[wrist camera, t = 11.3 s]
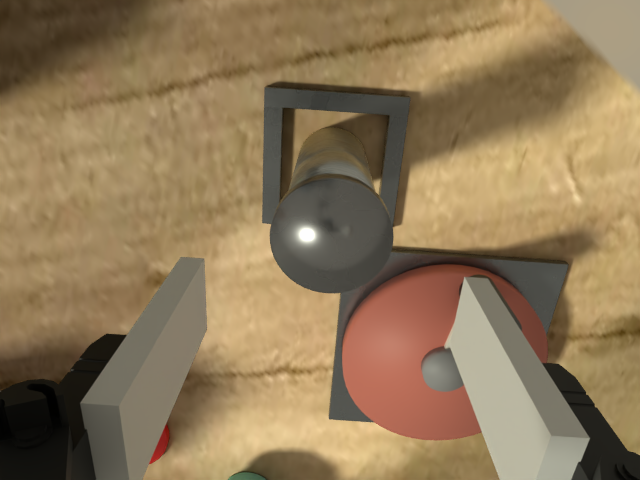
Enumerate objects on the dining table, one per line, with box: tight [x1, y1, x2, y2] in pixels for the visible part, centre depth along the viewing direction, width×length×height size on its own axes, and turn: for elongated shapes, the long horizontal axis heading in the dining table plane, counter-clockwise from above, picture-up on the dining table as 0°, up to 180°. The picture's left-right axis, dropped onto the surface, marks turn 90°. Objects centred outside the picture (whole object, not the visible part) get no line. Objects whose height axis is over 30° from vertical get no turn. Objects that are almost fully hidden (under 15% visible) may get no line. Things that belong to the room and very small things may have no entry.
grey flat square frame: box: [262, 86, 410, 228], centre depth 33 cm, size 10×10×1 cm
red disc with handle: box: [342, 264, 548, 440], centre depth 35 cm, size 16×16×7 cm
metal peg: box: [270, 127, 393, 293], centre depth 27 cm, size 5×5×14 cm
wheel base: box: [329, 249, 569, 422], centre depth 39 cm, size 17×17×1 cm
